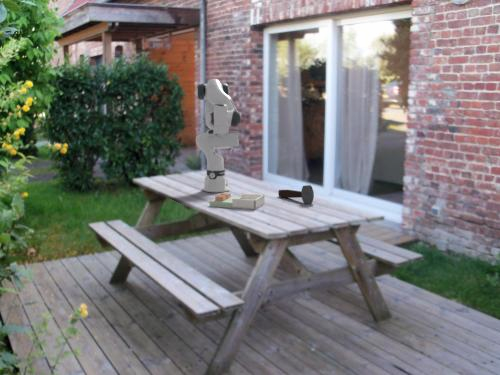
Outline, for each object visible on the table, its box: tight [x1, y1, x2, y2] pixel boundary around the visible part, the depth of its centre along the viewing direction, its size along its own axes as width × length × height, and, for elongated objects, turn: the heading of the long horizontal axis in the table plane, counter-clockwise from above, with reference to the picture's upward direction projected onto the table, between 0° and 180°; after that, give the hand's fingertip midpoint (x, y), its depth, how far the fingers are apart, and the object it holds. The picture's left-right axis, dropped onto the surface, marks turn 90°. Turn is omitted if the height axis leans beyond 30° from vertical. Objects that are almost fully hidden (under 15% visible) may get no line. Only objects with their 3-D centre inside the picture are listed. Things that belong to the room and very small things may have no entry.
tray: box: [231, 193, 265, 210], centre depth 344 cm, size 18×14×5 cm
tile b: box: [214, 194, 226, 201], centre depth 344 cm, size 5×5×2 cm
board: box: [209, 196, 242, 209], centre depth 348 cm, size 18×14×3 cm
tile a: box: [219, 192, 232, 199], centre depth 352 cm, size 5×5×2 cm
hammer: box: [277, 184, 315, 205], centre depth 361 cm, size 5×11×30 cm
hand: (222, 154), depth 347 cm, fingers open, 8 cm apart
